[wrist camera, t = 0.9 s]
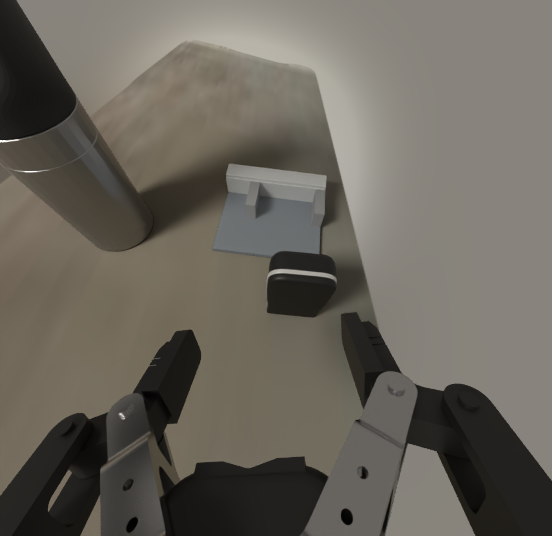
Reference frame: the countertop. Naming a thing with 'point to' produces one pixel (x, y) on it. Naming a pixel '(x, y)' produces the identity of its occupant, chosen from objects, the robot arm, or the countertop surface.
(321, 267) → the black rounded block
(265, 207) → the bracket
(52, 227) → the countertop surface
